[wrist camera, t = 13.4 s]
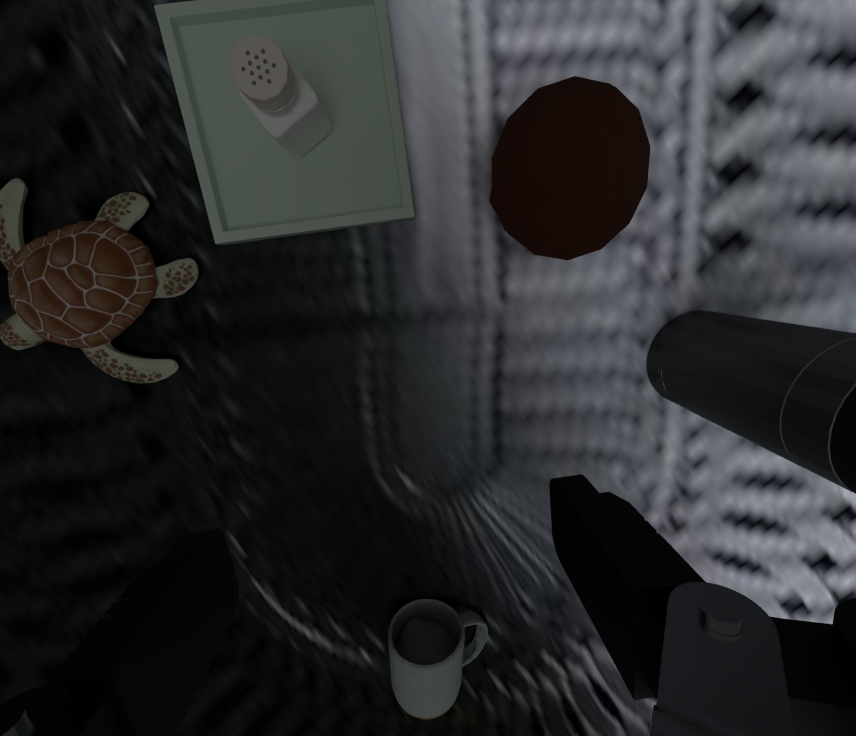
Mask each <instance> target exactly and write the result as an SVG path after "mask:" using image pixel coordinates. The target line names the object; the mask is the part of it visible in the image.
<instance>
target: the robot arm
mask: <svg viewBox="0 0 856 736" xmlns="http://www.w3.org/2000/svg"><path fill="white" fill-rule="evenodd" d="M647 366H648V375H649V378H650V381H651V383H652V385H653V387H654V388H655V390H656V391H657V392H658V393H659V394H660V395H661V396H663V397H664V398H666V399H668V400H670V401H672V402H674V403H676V404H678V405H680V406H682V407H684V408H686V409H688V410H690V411H692V412H693V413H695V414H697V415H699V416H701V417H703V418H705V419H707V420H709V421H711V422H713V423H715V424H717V425H719V426H721V427H723V428H725V429H727V430H729V431H731V432H733V433H735V434H737V435H739V436H741V437H743V438H745V439H747V440H749V441H751V442H753V443H755V444H757V445H759V446H761V447H763V448H765V449H767V450H769V451H771V452H773V453H775V454H777V455H779V456H781V457H783V458H785V459H787V460H789V461H791V462H793V463H795V464H797V465H799V466H801V467H803V468H805V469H807V470H809V471H811V472H813V473H815V474H817V475H819V476H821V477H823V478H825V479H827V480H829V481H831V482H833V483H835V484H837V485H839V486H841V487H843V488H845V489H847V490H849V491H851V492H854V493H856V333H850V332H844V331H837V330H830V329H824V328H817V327H810V326H804V325H797V324H790V323H784V322H777V321H771V320H764V319H757V318H751V317H745V316H738V315H732V314H725V313H718V312H712V311H693V312H689V313H686V314H683V315H680V316H679V317H677V318H675V319H674V320H672V321H671V322H670V323H668V324H667V325H666V326H665V327H664V328H663V329H662V330H661V331H660V333H659V334H658V335H657V336H656V338H655V340H654V342H653V344H652V346H651V349H650V352H649V355H648V364H647ZM550 504H551V521H552V536H553V542H554V546H555V550H556V553H557V556H558V558H559V560H560V562H561V564H562V566H563V568H564V570H565V572H566V574H567V576H568V577H569V579H570V581H571V583H572V585H573V587H574V589H575V590H576V592H577V594H578V596H579V598H580V600H581V602H582V604H583V605H584V607H585V609H586V611H587V613H588V615H589V617H590V618H591V620H592V622H593V624H594V626H595V628H596V630H597V632H598V633H599V635H600V637H601V639H602V641H603V643H604V645H605V647H606V648H607V650H608V652H609V654H610V656H611V658H612V660H613V661H614V663H615V665H616V667H617V669H618V671H619V673H620V675H621V676H622V678H623V680H624V682H625V684H626V686H627V688H628V689H629V691H630V693H631V695H632V697H633V699H634V700H639V699H645V698H651V697H655V698H656V699H657V703H656V705H654V707H653V712H652V719H651V727H650V735H649V736H856V598H852V599H847V600H845V601H842V602H840V603H839V604H838V605H837V607H836V609H835V612H834V619H833V624H824V623H816V622H807V621H798V620H790V619H781V618H775V617H770V616H768V614H767V613H766V612H765V611H764V610H763V609H762V608H761V607H760V606H758V605H757V604H756V603H755V602H753V601H752V600H750V599H749V598H747V597H746V596H744V595H742V594H740V593H738V592H736V591H734V590H732V589H729V588H727V587H724V586H721V585H717V584H712V583H706V582H705V581H704V580H703V579H702V578H701V577H700V576H699V575H698V574H697V572H696V571H695V570H694V569H693V568H692V567H691V566H690V565H689V564H688V563H687V562H686V561H685V560H684V559H683V558H682V557H681V556H680V555H679V554H678V553H677V552H676V551H675V550H674V549H673V547H672V546H671V545H670V544H669V543H668V542H667V541H666V540H665V539H664V538H663V537H662V536H661V535H660V534H657V532H656V530H655V529H654V528H653V527H652V526H651V525H650V523H649V522H648V521H645V520H644V517H643V516H642V515H641V514H640V513H639V512H638V511H637V510H636V509H635V508H634V507H633V506H632V505H631V504H630V503H629V502H627V501H625V500H623V499H622V498H620V497H618V496H616V495H614V494H612V493H611V492H605V493H599V492H598V491H597V490H596V489H595V488H594V486H593V485H592V484H591V483H590V482H589V481H588V480H587V478H586V477H585V476H584V475H582V474H580V475H573V476H567V477H560V478H553V479H551V480H550ZM238 599H239V583H238V579H237V576H236V572H235V569H234V565H233V562H232V559H231V555H230V552H229V549H228V545H227V542H226V539H225V536H224V533H223V532H222V530H220V529H218V528H215V529H209V530H202V531H195V532H189V533H184V534H183V535H181V536H180V537H179V539H178V540H177V541H176V542H175V543H174V545H173V546H172V547H171V548H170V550H169V551H168V552H167V553H166V555H165V556H164V557H163V558H162V559H159V560H158V561H156V562H155V563H154V564H153V565H151V566H150V567H149V568H147V569H146V570H145V571H144V572H142V573H141V574H140V575H138V576H137V577H136V578H135V579H134V580H133V582H132V583H131V584H130V585H129V586H128V587H127V589H126V590H125V591H124V592H123V593H122V595H121V596H120V597H119V601H117V602H115V603H114V604H113V605H112V606H111V607H110V609H109V610H108V611H107V612H106V613H105V615H104V619H100V620H99V622H98V623H97V624H96V625H95V626H94V628H93V629H92V630H91V631H90V632H89V633H88V635H87V636H86V637H85V638H84V639H83V641H82V642H81V643H80V644H79V645H78V646H77V648H76V649H75V650H74V651H73V652H72V654H71V655H70V656H69V657H68V658H67V659H66V661H65V662H64V663H63V664H62V665H61V667H60V668H59V669H58V670H57V671H56V672H55V674H54V675H53V676H52V677H51V678H50V679H49V681H48V682H47V683H46V684H45V685H44V686H40V687H36V688H33V689H30V690H27V691H24V692H22V693H20V694H18V695H16V696H14V697H12V698H10V699H8V700H6V701H4V702H3V703H1V704H0V736H176V734H177V732H178V730H179V728H180V726H181V724H182V721H183V719H184V717H185V715H186V713H187V711H188V709H189V707H190V705H191V703H192V701H193V698H194V696H195V694H196V692H197V690H198V688H199V686H200V684H201V682H202V680H203V678H204V675H205V673H206V671H207V669H208V667H209V665H210V663H211V661H212V659H213V657H214V655H215V652H216V650H217V648H218V646H219V644H220V642H221V640H222V638H223V636H224V634H225V632H226V629H227V627H228V625H229V623H230V621H231V619H232V617H233V615H234V613H235V610H236V608H237V604H238Z"/></svg>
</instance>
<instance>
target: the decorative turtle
mask: <svg viewBox="0 0 856 736" xmlns="http://www.w3.org/2000/svg"><path fill="white" fill-rule="evenodd" d="M27 194H28V187H27V186H26V184H25V183H24V182H23V181H22V180H20V179H17V178H16V179H13V180H11V181H10V182H9V183H7V184H6V185H5V186H4V187H3V188H2V189H1V191H0V260H1V261H2V263H3V264H4V266H5V267H6V269H7V270H8V284H9V296H10V300H11V305H12V308H13V309H14V311H15V312H16V314H15V315H13V316H12V317H10V318H9V319H7V320H6V321H5V322H4V323H3V324H1V325H0V338H1V339H2V341H3V342H4V343H5V344H6V345H8V346H9V347H11V348H13V349H16V350H21V349H25V348H29V347H33V346H36V345H38V344H41V343H43V342H45V341H50V342H55V343H58V344H62V345H65V346H70V347H76V348H81V349H82V350H83V352H84V353H85V355H86V356H87V358H88V359H89V360H91V361H92V362H93V363H94V364H95V365H96V366H98V367H99V368H100V369H102V370H103V371H105V372H106V373H108V374H110V375H111V376H113V377H116V378H118V379H121V380H124V381H131V382H136V383H151V382H156V381H159V380H162V379H165V378H167V377H169V376H170V375H172V374H173V373H175V372H176V371H177V370H178V367H179V366H178V364H177V362H176V361H175V360H173V359H151V358H143V357H138V356H133V355H130V354H126V353H123V352H121V351H119V350H117V349H115V348H114V347H113V346H112V345H111V341H112V340H113V339H115V338H116V337H117V336H119V335H120V334H122V333H123V332H124V331H125V329H126V328H127V327H128V326H130V325H131V324H132V323H133V322H134V321H135V320H136V319H137V318H138V317H139V316H140V315H141V314H142V313H143V311H144V309H145V308H146V306H148V305H149V303H150V301H151V299H153V298H169V297H176V296H178V295H181V294H184V293H185V292H186V291H188V290H189V289H190V288H191V287H192V286H193V285H194V284H195V282H196V280H197V278H198V275H199V268H198V264H197V263H196V262H195V261H194V260H193V259H191V258H186V259H179V260H176V261H173V262H171V263H169V264H166V265H162V266H159V267H156V268H155V264H154V259H153V257H152V254H151V252H150V250H149V248H148V247H147V246H145V245H144V243H143V241H141V240H140V239H139V238H138V237H136V236H135V235H133V234H131V233H129V232H128V231H129V229H130V228H131V227H132V226H133V225H134V223H136V222H137V221H138V220H139V219H140V218H141V217H142V216H143V215H144V214H145V213H146V211H147V209H148V208H149V201H148V200H147V199H146V197H144V196H142V195H140V194H137V193H134V192H126V193H122V194H119V195H116V196H114V197H112V198H110V199H108V200H107V202H106V203H105V204H104V205H103V206H102V208H101V210H100V211H99V213H98V215H97V217H96V219H95V220H90V221H80V222H78V223H77V224H72V225H67V226H65V227H63V228H62V229H57V230H53V231H51V232H49V233H48V235H47V236H44V237H41V238H36V239H35V240H33V241H32V242H30V243H29V244H26V245H25V243H24V237H23V208H24V203H25V200H26V197H27Z"/></svg>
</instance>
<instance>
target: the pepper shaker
mask: <svg viewBox="0 0 856 736" xmlns="http://www.w3.org/2000/svg"><path fill="white" fill-rule="evenodd" d="M230 73H231V75H232V77H233V79H234V81H235V83H236V85H237V91H238V95H239V96H240V97H241V99H242V100H243V101H244V103H245V104H246V105H247V107H248V108H249V109H250V110H251V112H252V113H253V114H254V116H255V117H256V118H257V119H258V121H259V122H260V123H261V124H262V126H263V127H264V128H265V129H266V131H267V132H268V133H269V134H270V135H271V136H272V137H273V138H274V139H275V140H276V142H277V143H278V144H279V145H280V146H281V147H282V148H283V149H284V150H285V151H286V152H287V153H288V154H289V155H290V156H292V157H294V158H295V159H296V158H300V157H302V156H303V155H304V154H305V153H307V152H308V151H309V150H310V149H311V148H312V147H314V146H315V145H316V144H317V143H318V142H319V141H321V140H322V139H323V138H324V137H325V136H326V135H328V134H329V132H330V130H331V124H330V121H329V119H328V117H327V115H326V113H325V111H324V109H323V107H322V104H321V102H320V100H319V98H318V96H317V94H316V92H315V91H314V90H313V88H312V87H311V85H310V84H309V83H308V81H307V80H306V78H305V77H304V76H303V74H302V73H301V71H300V70H299V69H298V67H297V66H296V65H295V63H294V62H293V61H292V59H291V58H290V57H289V55H288V54H287V53H286V52H285V51H283V50H282V49H281V48H280V47H279V46H278V45H276V44H275V43H274V42H273V41H272V40H271V39H269V38H268V37H264V36H259V35H254V34H251V35H249V36H247V37H245V38H243V39H240V40H238V42H237V43H236V45H235V47H234V48H233V50H232V52H231V54H230Z"/></svg>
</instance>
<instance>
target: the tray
mask: <svg viewBox="0 0 856 736" xmlns="http://www.w3.org/2000/svg"><path fill="white" fill-rule="evenodd" d="M154 7H155V11H156V14H157V18H158V22H159V26H160V30H161V34H162V38H163V42H164V46H165V50H166V53H167V57H168V61H169V65H170V69H171V73H172V77H173V81H174V85H175V88H176V92H177V96H178V100H179V104H180V108H181V112H182V116H183V120H184V124H185V127H186V131H187V135H188V139H189V143H190V147H191V151H192V155H193V159H194V162H195V166H196V170H197V174H198V178H199V182H200V186H201V190H202V194H203V198H204V201H205V205H206V209H207V213H208V217H209V221H210V225H211V229H212V233H213V236H214V240H215V244H222V245H227V244H235V243H242V242H250V241H257V240H264V239H272V238H279V237H286V236H294V235H301V234H309V233H316V232H323V231H331V230H338V229H345V228H353V227H360V226H368V225H375V224H382V223H390V222H397V221H404V220H412V219H414V217H415V215H414V208H413V201H412V193H411V186H410V178H409V171H408V163H407V156H406V149H405V141H404V134H403V126H402V119H401V111H400V104H399V97H398V89H397V82H396V74H395V67H394V59H393V52H392V45H391V37H390V30H389V22H388V15H387V7H386V0H196V1H187V2H179V3H170V4H161V5H154ZM251 34H254V35H259V36H264V37H268V38H269V39H271V40H272V41H273V42H274V43H275V44H276V45H278V46H279V47H280V48H281V49H282V50H283V51H285V52H286V53H287V54H288V55H289V57H290V58H291V59H292V61H293V62H294V63H295V65H296V66H297V67H298V69H299V70H300V71H301V73H302V74H303V76H304V77H305V78H306V80H307V81H308V83H309V84H310V85H311V87H312V88H313V90H314V91H315V92H316V94H317V96H318V98H319V100H320V102H321V104H322V107H323V109H324V111H325V113H326V115H327V117H328V119H329V121H330V124H331V130H330V132H329V134H328V135H326V136H325V137H324V138H323V139H322V140H321V141H319V142H318V143H317V144H316V145H315V146H314V147H312V148H311V149H310V150H309V151H308V152H307V153H305V154H304V155H303V156H302V157H300V158H296V159H295V158H294V157H292V156H290V155H289V154H288V153H287V152H286V151H285V150H284V149H283V148H282V147H281V146H280V145H279V144H278V143H277V142H276V140H275V139H274V138H273V137H272V136H271V135H270V134H269V133H268V132H267V131H266V129H265V128H264V127H263V126H262V124H261V123H260V122H259V121H258V119H257V118H256V117H255V116H254V114H253V113H252V112H251V110H250V109H249V108H248V107H247V105H246V104H245V103H244V101H243V100H242V99H241V97H240V96H239V95H238V91H237V85H236V83H235V81H234V79H233V77H232V75H231V73H230V54H231V52H232V50H233V48H234V47H235V45H236V43H237V42H238V40H240V39H243V38H245V37H247V36H249V35H251Z"/></svg>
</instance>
